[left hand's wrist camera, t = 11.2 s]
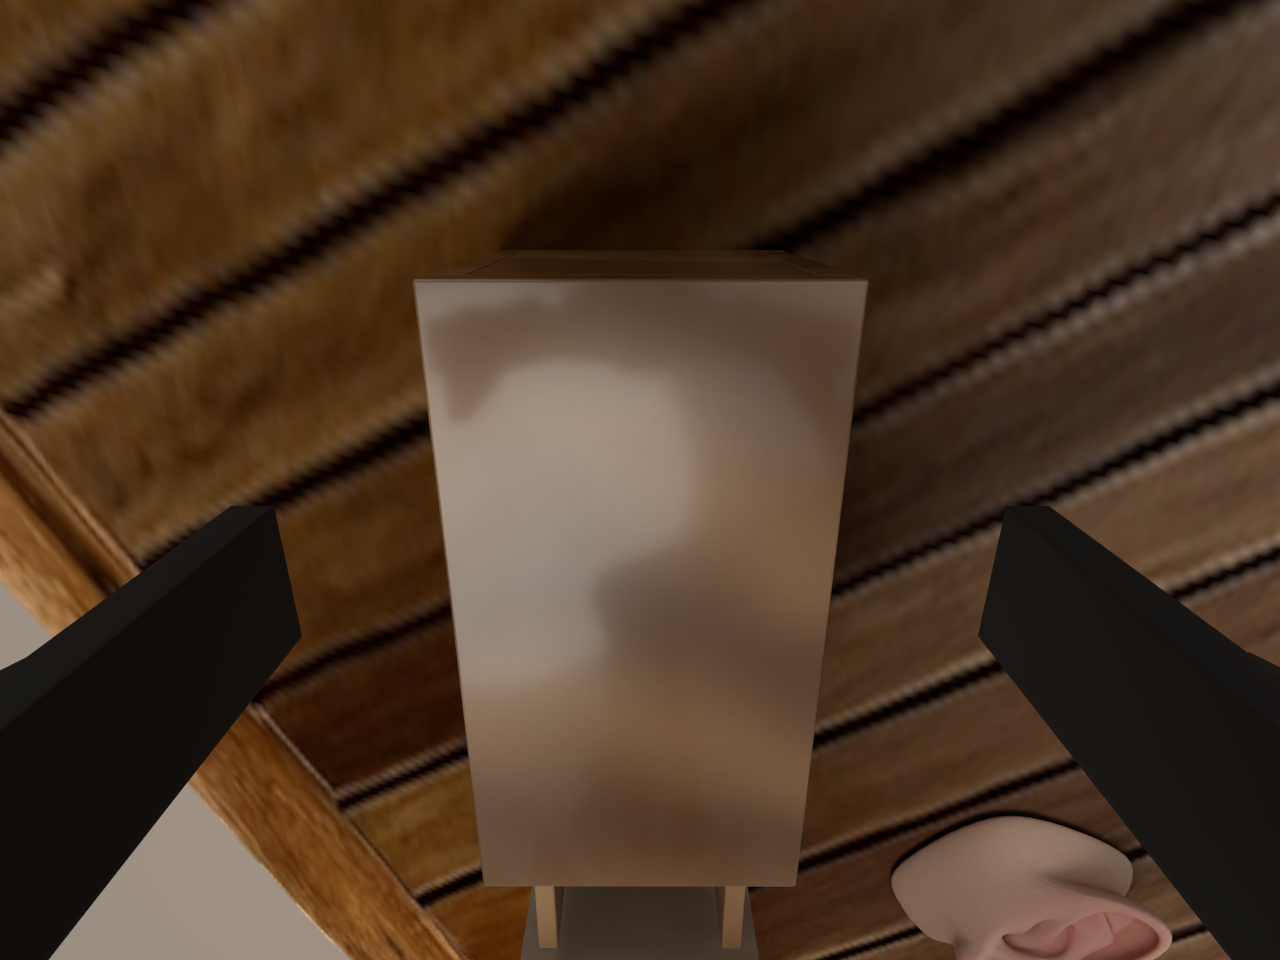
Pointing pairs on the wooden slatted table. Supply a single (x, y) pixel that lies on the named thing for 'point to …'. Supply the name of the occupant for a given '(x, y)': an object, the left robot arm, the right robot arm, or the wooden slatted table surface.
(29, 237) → the wooden slatted table surface
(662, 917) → the drawer
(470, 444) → the cabinet
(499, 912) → the wooden slatted table surface
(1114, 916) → the anatomical model
